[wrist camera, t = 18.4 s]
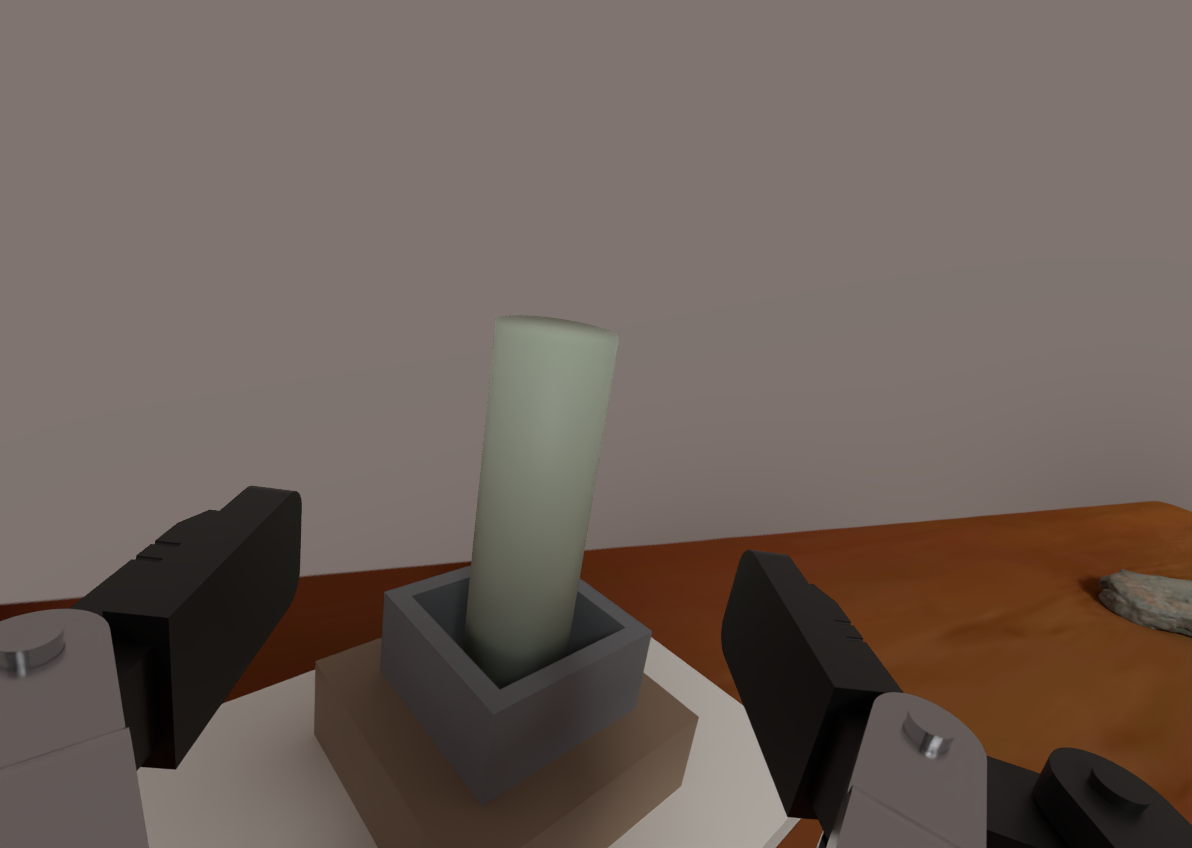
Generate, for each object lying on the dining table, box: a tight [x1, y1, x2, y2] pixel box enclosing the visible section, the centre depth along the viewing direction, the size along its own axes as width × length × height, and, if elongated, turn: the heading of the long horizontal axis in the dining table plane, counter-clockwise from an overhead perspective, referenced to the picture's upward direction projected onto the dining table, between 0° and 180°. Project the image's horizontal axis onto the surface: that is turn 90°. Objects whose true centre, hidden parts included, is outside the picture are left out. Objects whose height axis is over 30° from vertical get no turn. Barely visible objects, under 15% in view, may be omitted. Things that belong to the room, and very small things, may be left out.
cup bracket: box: [137, 565, 801, 848], centre depth 26 cm, size 26×20×10 cm
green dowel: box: [463, 316, 619, 689], centre depth 24 cm, size 4×4×16 cm
